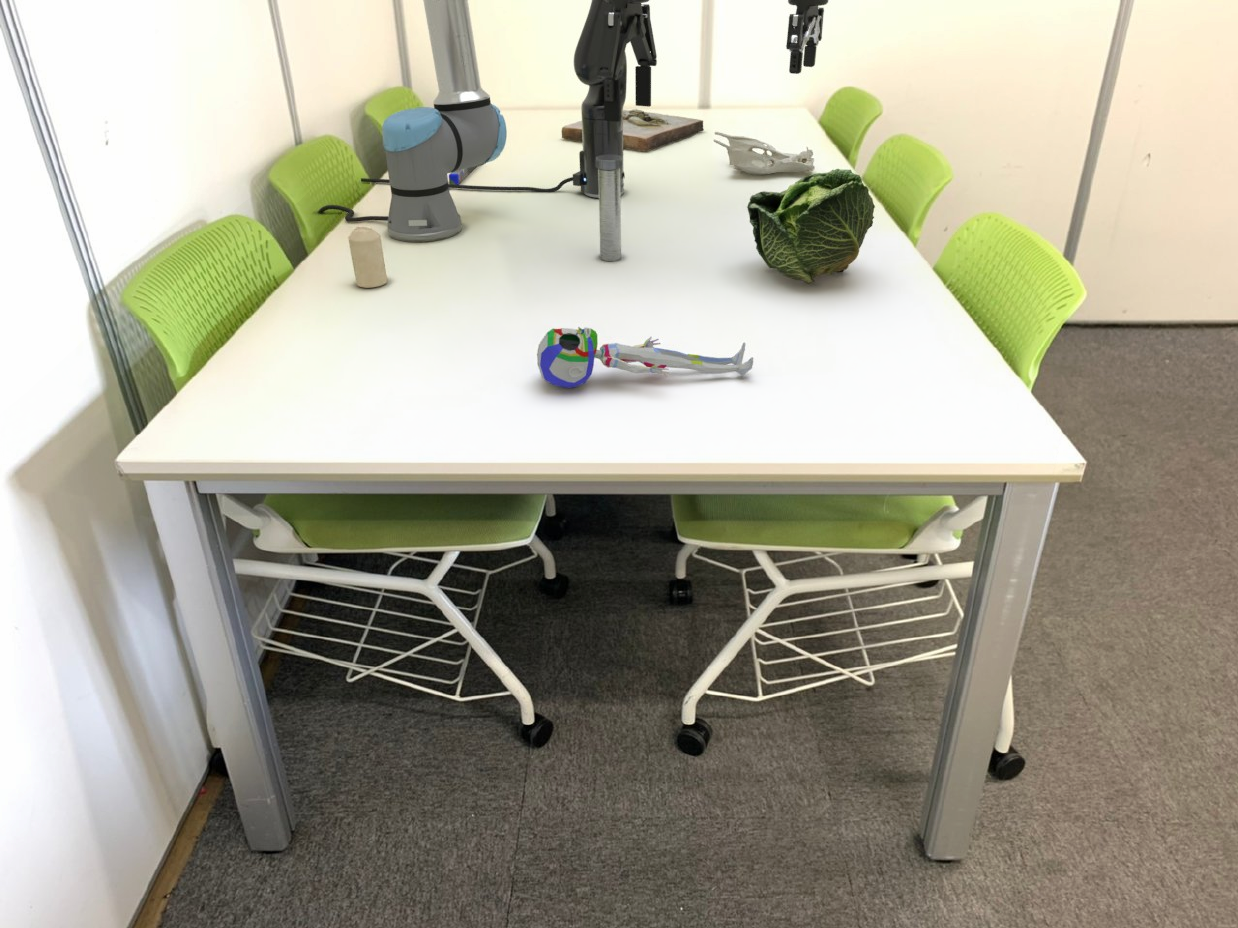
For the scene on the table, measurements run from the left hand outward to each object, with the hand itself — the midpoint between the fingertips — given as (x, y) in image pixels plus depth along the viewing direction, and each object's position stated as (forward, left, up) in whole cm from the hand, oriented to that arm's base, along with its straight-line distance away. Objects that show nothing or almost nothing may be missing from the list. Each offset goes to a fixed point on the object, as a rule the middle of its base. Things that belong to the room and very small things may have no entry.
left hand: (628, 113), depth 156 cm
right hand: (+21, +37, +3) cm, 42 cm away
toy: (+22, -44, -26) cm, 56 cm away
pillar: (-64, +41, -26) cm, 81 cm away
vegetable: (+33, +5, -26) cm, 43 cm away
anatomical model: (+4, +71, -26) cm, 76 cm away
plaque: (-42, +96, -26) cm, 108 cm away
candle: (-38, -29, -26) cm, 55 cm away
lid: (-4, 0, -8) cm, 9 cm away
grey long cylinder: (-4, 0, -26) cm, 27 cm away
